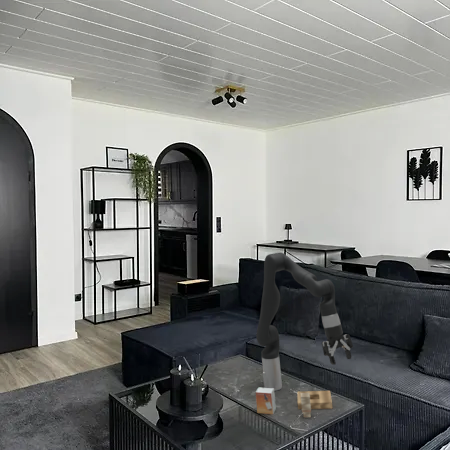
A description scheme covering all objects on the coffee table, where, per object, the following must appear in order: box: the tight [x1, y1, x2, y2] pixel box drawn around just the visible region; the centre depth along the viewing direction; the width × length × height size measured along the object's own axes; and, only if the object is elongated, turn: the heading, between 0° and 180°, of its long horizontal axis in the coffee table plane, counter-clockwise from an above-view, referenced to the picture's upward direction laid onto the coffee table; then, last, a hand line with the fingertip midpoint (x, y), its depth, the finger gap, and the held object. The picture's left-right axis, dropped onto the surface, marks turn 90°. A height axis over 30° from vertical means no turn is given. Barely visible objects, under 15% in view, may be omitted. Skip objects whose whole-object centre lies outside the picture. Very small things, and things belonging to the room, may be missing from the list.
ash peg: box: [301, 393, 312, 419], centre depth 199 cm, size 4×4×10 cm
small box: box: [255, 386, 277, 415], centre depth 207 cm, size 8×6×10 cm
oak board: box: [297, 390, 333, 410], centre depth 210 cm, size 16×12×3 cm
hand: (341, 361), depth 188 cm, fingers open, 8 cm apart
